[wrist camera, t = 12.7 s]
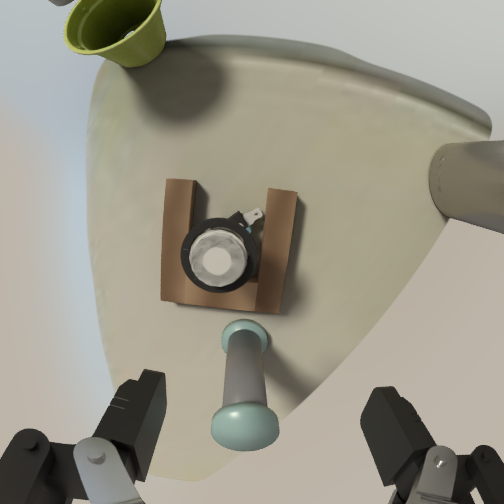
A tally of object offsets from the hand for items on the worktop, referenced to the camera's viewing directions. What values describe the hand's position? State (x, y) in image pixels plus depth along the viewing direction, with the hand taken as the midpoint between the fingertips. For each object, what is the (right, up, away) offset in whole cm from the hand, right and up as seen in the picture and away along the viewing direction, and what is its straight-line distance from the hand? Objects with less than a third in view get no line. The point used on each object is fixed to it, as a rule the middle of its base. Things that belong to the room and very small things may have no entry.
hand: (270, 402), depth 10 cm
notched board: (-3, +6, +19) cm, 20 cm away
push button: (-3, +8, +19) cm, 21 cm away
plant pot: (-13, +28, +14) cm, 34 cm away
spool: (-2, -4, +22) cm, 22 cm away
